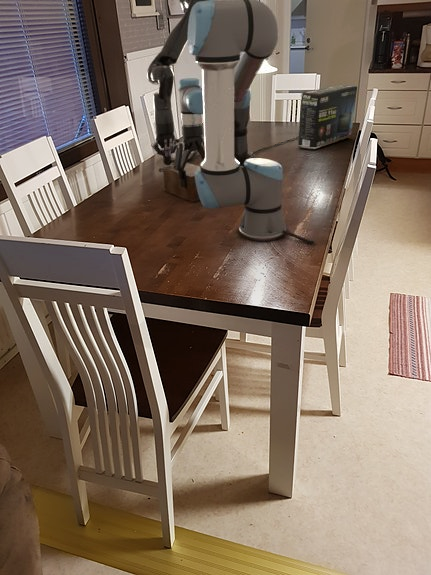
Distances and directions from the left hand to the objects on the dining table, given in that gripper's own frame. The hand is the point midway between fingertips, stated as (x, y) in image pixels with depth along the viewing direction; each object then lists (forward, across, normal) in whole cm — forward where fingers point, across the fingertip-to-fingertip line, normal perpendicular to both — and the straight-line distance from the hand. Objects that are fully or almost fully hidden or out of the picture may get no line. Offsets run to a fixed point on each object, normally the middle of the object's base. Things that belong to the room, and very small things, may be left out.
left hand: (167, 164), depth 189 cm
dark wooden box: (+9, 0, +14) cm, 16 cm away
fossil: (+9, -28, -32) cm, 43 cm away
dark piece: (+8, 0, +8) cm, 12 cm away
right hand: (+4, 0, +18) cm, 19 cm away
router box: (+8, -100, +3) cm, 100 cm away
